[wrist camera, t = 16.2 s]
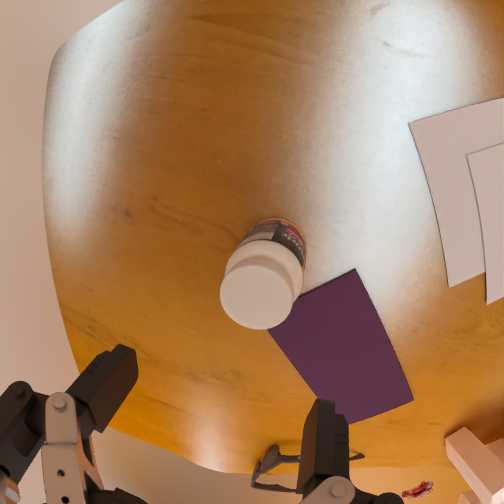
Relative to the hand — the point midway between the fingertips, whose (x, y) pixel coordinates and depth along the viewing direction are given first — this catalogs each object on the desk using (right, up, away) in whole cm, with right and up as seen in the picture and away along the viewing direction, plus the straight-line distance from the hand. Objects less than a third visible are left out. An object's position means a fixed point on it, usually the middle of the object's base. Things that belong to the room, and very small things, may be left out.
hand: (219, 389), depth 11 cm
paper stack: (+30, +10, +9) cm, 33 cm away
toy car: (+39, -48, +30) cm, 68 cm away
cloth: (+12, -7, +19) cm, 24 cm away
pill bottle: (+4, +6, +16) cm, 18 cm away
